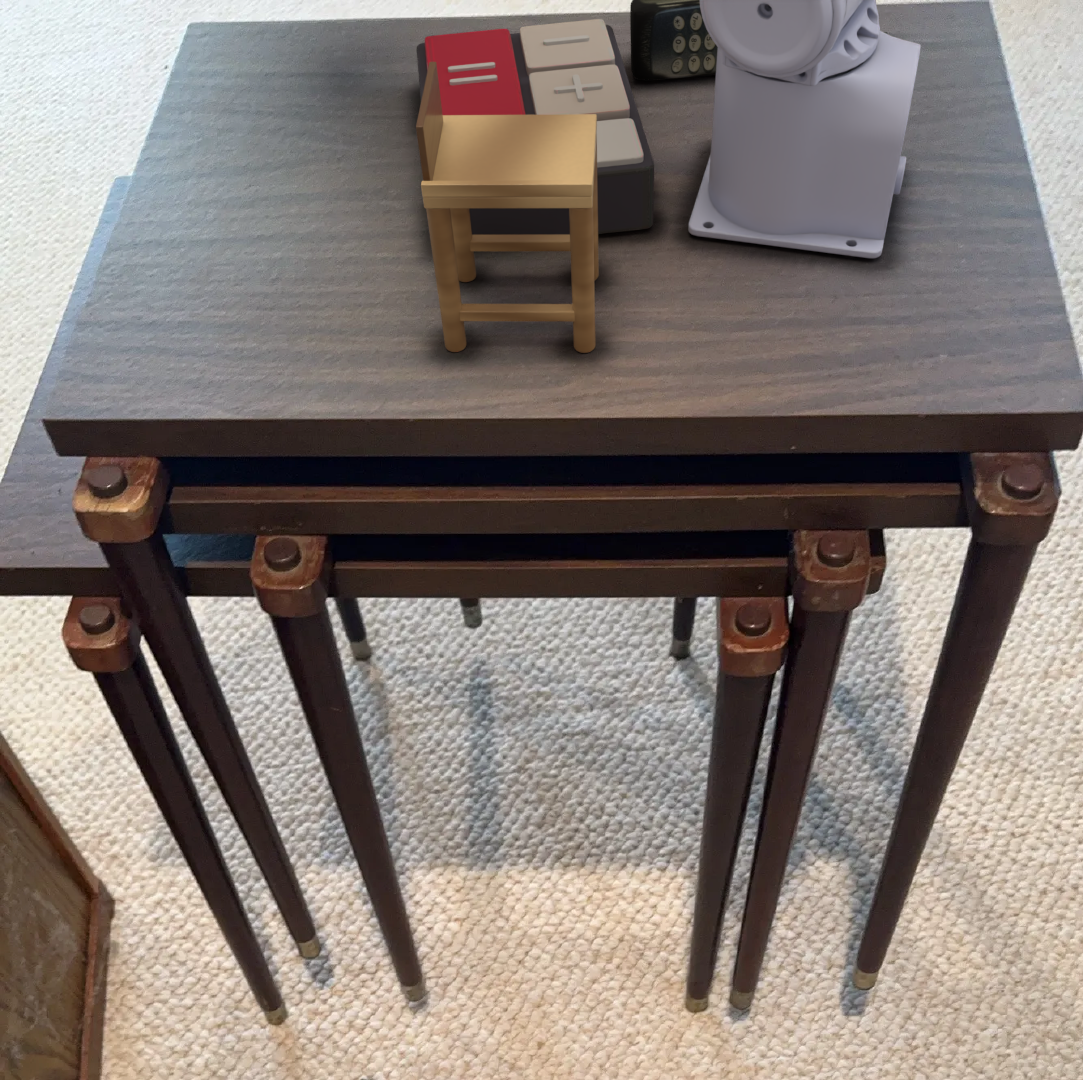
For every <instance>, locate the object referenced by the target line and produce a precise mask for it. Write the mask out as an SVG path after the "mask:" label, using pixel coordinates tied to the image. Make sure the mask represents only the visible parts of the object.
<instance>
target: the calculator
mask: <svg viewBox="0 0 1083 1080" xmlns="http://www.w3.org/2000/svg"><path fill="white" fill-rule="evenodd" d="M416 60H417V71H418V83H419V96H420V101H421V100H422V95H423V90H424V86H425V81H426V76H427V71H428V67H429V62H436V64H437V73H438V81H439V89H440V98H441V106H442V115H555V114H596V115H597V188H598V235H602V234H612V233H623V232H631V231H639V230H641V231H642V230H646V229H649V228H652V226H653V225H654V205H655V204H654V203H655V202H654V197H655V195H654V193H655V192H654V190H655V188H654V187H655V164H654V159H653V156H652V153H651V150H650V146H649V142H648V140H647V136H646V134H645V130H644V126H643V123H642V120H641V116H640V113H639V111H638V107H637V104H636V100H635V97H634V93H633V91H632V87H631V85H630V81H629V77H628V75H627V72H626V68H625V64H624V61H623V59H622V55H621V52H620V49H619V45H618V42H617V39H616V35H615V32H614V29H613V27H612V26H611V25H609V24H606V23H605V21H604V19H602V18H595V19H594V18H593V19H585V20H575V21H563V22H554V23H545V24H536V25H535V24H534V25H526V26H525V25H524V26H521V27H520V28H519V32H514V33H511V32H510V30H509V29H508V28H495V29H485V30H474V31H465V32H454V33H445V34H444V33H443V34H436V35H435V34H434V35H428V36H425V38H424V41H423V42H420V43H419V44H417V46H416ZM469 212H470V221H471V230H472V235H570V221H569V208H469Z"/></svg>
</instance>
